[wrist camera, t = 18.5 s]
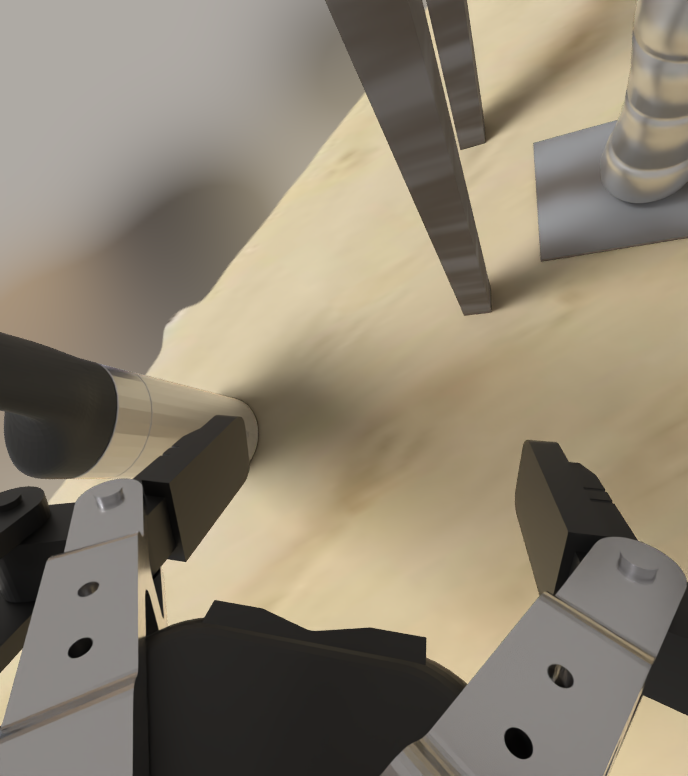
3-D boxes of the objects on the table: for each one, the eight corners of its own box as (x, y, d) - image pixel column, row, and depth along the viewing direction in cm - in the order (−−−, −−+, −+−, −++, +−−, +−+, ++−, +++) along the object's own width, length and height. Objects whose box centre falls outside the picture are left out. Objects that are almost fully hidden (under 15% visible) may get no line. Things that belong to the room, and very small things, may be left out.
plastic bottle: (642, 129, 34) (757, -244, 17) (715, 169, 31) (948, -226, 14) (577, 186, 36) (619, -102, 18) (642, 230, 33) (768, -60, 15)
